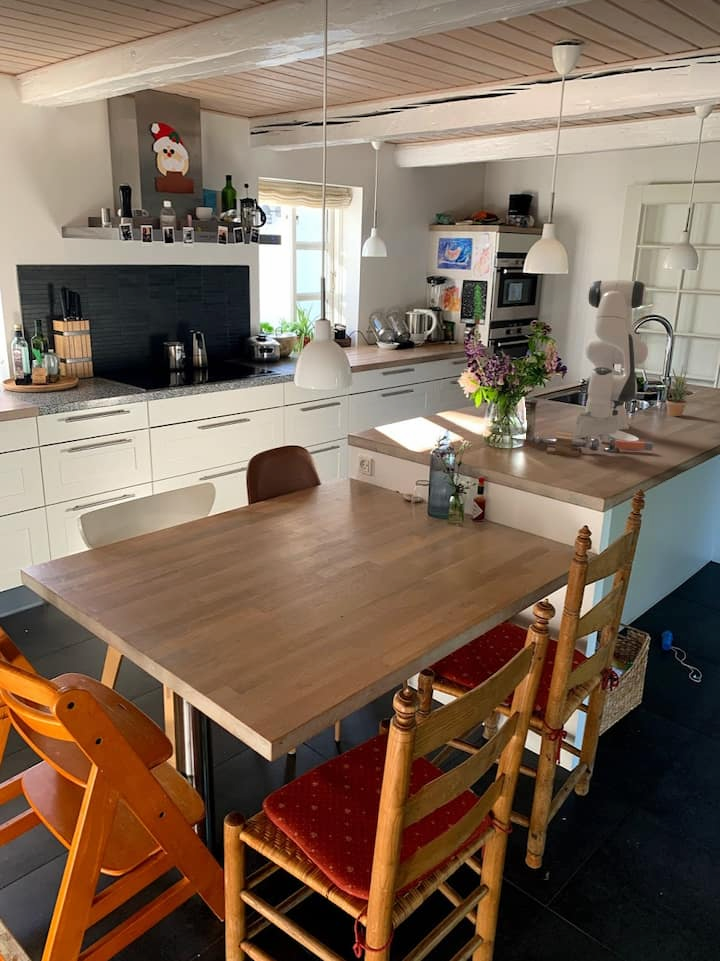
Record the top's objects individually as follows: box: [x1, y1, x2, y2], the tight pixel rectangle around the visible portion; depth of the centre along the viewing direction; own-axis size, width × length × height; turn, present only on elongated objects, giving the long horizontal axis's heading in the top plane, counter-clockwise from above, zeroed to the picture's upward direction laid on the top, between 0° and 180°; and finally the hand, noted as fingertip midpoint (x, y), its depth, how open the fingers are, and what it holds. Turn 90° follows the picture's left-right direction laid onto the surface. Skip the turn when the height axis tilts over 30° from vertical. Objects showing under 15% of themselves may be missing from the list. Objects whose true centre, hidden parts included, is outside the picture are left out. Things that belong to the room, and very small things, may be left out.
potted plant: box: [665, 365, 689, 417], centre depth 360 cm, size 10×10×25 cm
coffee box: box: [524, 398, 538, 442], centre depth 310 cm, size 9×6×16 cm
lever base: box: [602, 439, 620, 453], centre depth 296 cm, size 6×6×4 cm
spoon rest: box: [581, 430, 640, 446], centre depth 308 cm, size 24×12×7 cm, turn 52°
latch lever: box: [614, 440, 654, 452], centre depth 295 cm, size 14×2×3 cm, turn 80°
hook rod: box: [534, 436, 599, 451], centre depth 294 cm, size 3×24×4 cm, turn 74°
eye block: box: [546, 430, 581, 457], centre depth 294 cm, size 14×12×6 cm
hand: (593, 446), depth 291 cm, fingers open, 4 cm apart
